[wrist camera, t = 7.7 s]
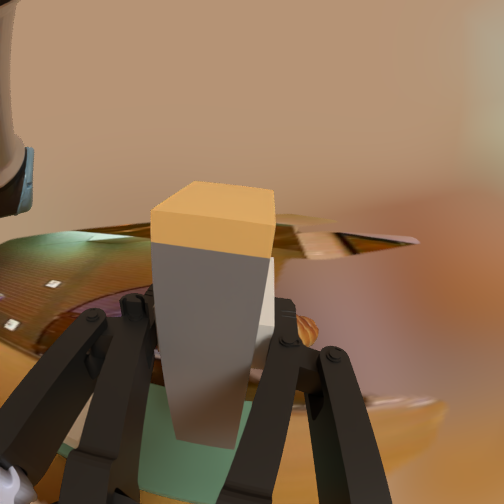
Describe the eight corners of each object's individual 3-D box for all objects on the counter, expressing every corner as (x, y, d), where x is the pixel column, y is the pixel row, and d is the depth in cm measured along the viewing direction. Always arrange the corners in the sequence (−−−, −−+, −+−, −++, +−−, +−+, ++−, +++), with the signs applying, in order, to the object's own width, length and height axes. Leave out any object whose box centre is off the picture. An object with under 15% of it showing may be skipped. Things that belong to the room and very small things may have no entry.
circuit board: (27, 434, 13) (21, 428, 13) (72, 363, 23) (69, 356, 23) (240, 510, 13) (242, 507, 13) (250, 408, 23) (251, 401, 23)
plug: (176, 439, 13) (150, 210, 7) (192, 382, 18) (194, 180, 12) (234, 449, 13) (275, 225, 7) (241, 390, 18) (273, 190, 12)
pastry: (300, 319, 38) (306, 297, 36) (327, 350, 32) (335, 327, 31) (239, 331, 34) (242, 308, 33) (261, 369, 29) (266, 345, 27)
